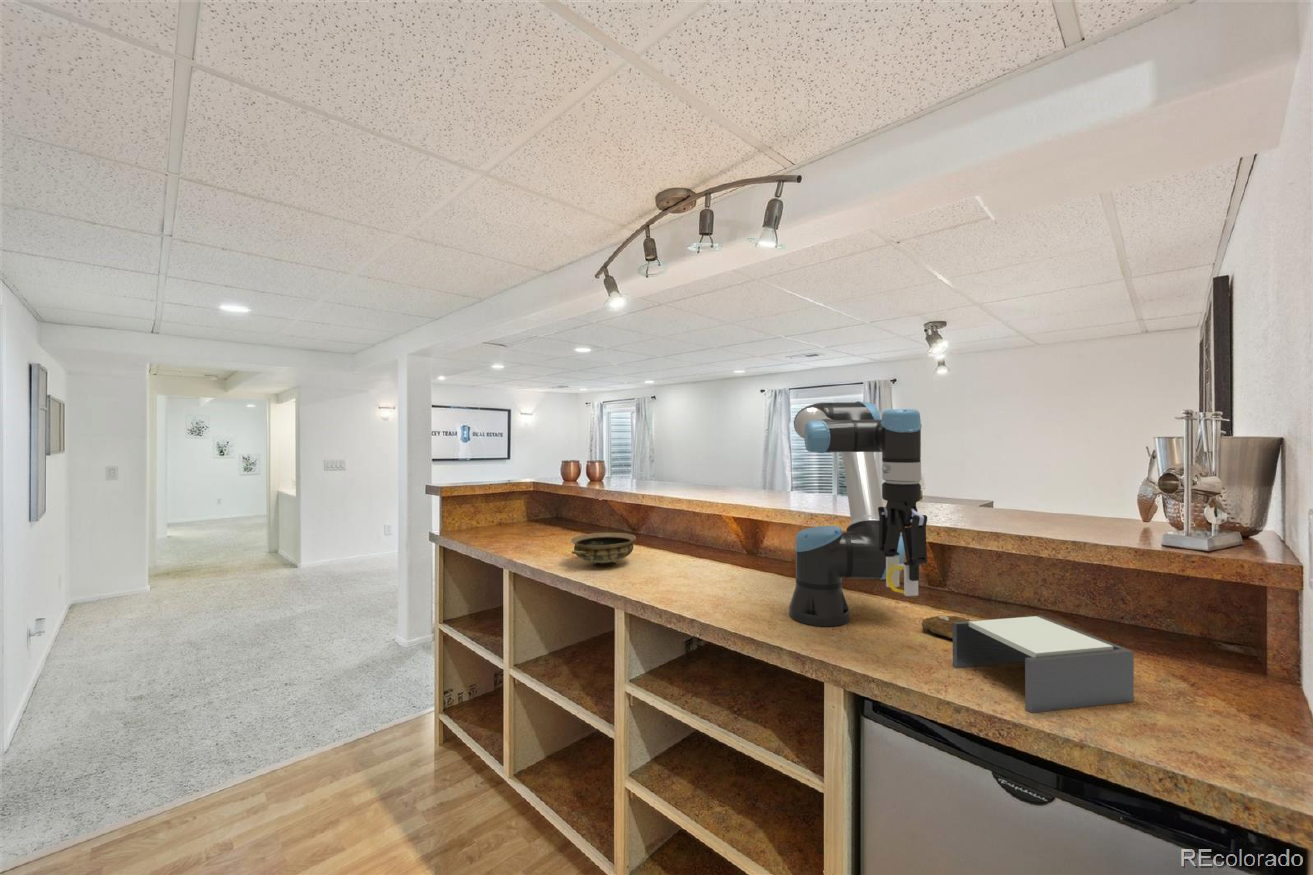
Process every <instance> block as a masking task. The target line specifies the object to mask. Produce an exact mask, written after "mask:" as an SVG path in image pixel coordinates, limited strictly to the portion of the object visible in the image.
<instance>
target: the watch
mask: <svg viewBox="0 0 1313 875" xmlns="http://www.w3.org/2000/svg"><path fill="white" fill-rule="evenodd" d="M895 568H896V569H900V570H903V571H904V564H895V567H893V568H891V569H890V570H889V571H888V573H887V582H888V584H889V587H888V588H890V589H891V590H892V591H893V592H895V593H898V594H899V593H900V594H903V595H904V589H901V588H900V589H899V588H898V587H895V586H894V585H893V582H892V580H891V574H892V572H893V570H894V569H895Z"/></svg>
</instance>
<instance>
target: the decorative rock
mask: <svg viewBox="0 0 1313 875" xmlns="http://www.w3.org/2000/svg"><path fill="white" fill-rule="evenodd" d="M962 621H973V620H972V619H970V618H966V617H961V616H959V615H937V616H932V617H926V618H925V619H922V621H921V625H922V628H924V629H925V631H928V630H929V631H930V632H932V634H933V635H938V636H941V637H946V638H948V639H949V640H951V639H953V622H962Z"/></svg>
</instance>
